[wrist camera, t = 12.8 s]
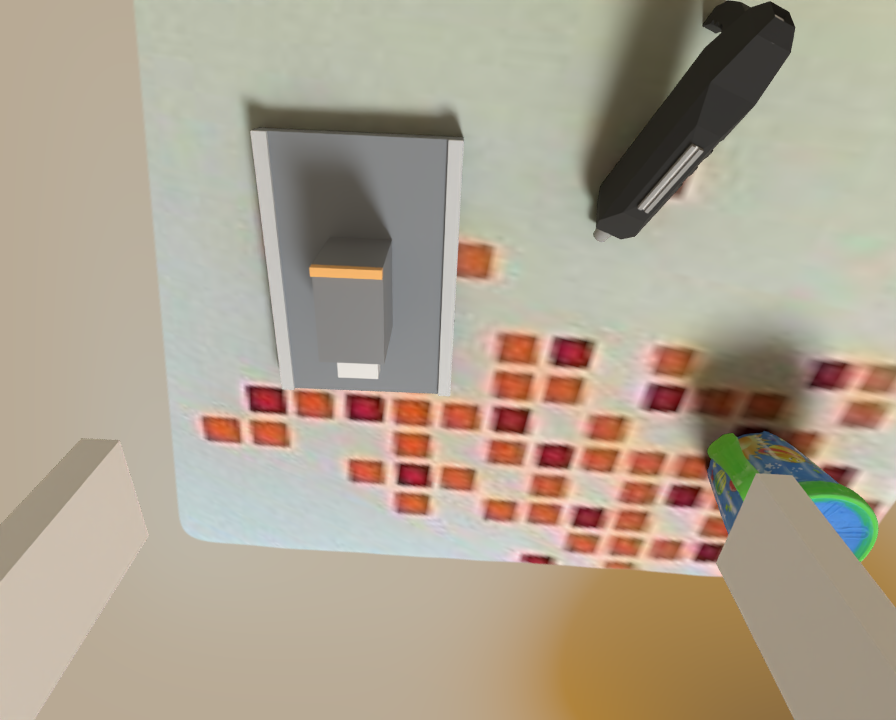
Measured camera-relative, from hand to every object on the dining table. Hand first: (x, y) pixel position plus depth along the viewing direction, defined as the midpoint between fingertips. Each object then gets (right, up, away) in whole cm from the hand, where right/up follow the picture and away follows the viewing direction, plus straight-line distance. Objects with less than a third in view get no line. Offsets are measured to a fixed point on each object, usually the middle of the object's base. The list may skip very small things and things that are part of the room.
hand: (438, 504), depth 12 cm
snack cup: (+28, -6, +40) cm, 49 cm away
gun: (+14, +19, +26) cm, 35 cm away
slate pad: (-6, +10, +31) cm, 33 cm away
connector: (-6, +8, +30) cm, 32 cm away
